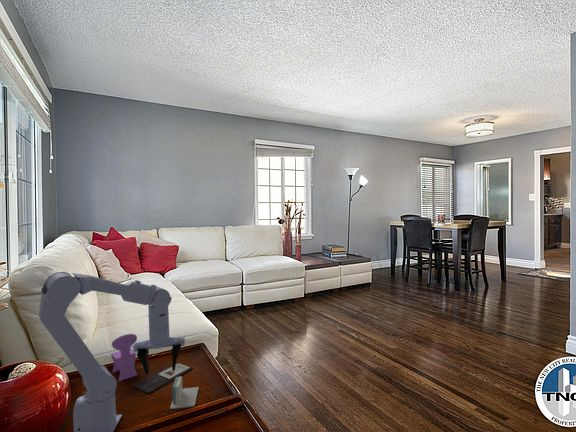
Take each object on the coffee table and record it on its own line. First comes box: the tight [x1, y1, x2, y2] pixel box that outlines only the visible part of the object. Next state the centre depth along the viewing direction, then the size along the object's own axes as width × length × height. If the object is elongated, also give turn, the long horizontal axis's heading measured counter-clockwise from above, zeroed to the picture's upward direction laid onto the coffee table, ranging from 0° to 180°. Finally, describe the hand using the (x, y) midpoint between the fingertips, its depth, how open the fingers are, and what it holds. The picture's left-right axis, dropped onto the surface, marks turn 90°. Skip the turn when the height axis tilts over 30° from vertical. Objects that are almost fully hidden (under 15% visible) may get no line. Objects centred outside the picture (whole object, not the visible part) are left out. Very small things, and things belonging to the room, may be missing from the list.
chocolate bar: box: [131, 362, 193, 395], centre depth 113 cm, size 9×1×18 cm
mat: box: [169, 386, 200, 410], centre depth 100 cm, size 7×10×1 cm
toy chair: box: [110, 333, 139, 382], centre depth 116 cm, size 8×9×15 cm
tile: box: [171, 376, 184, 404], centre depth 100 cm, size 2×6×5 cm, turn 9°
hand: (160, 370), depth 99 cm, fingers open, 7 cm apart
